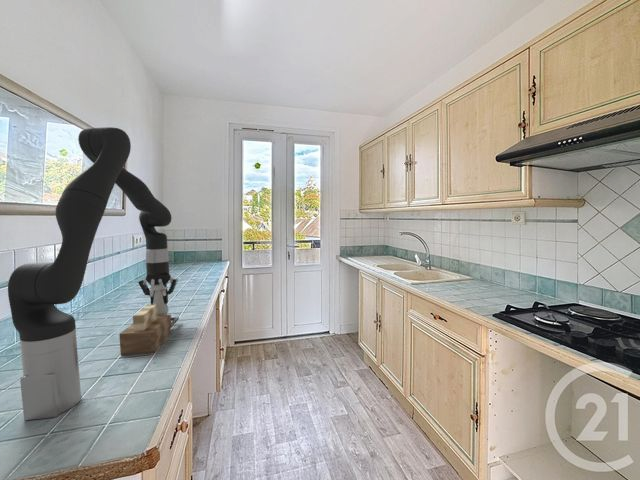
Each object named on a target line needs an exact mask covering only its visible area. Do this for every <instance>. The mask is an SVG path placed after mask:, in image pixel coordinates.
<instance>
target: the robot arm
mask: <svg viewBox="0 0 640 480" xmlns="http://www.w3.org/2000/svg"><path fill="white" fill-rule="evenodd" d="M77 141H78V145H79V148H80V149H81V151H82V153H83V154H84V155H85V156H86V157H87V158H88V159H89V160H90V161H91V163H92V164H91V165H90V166H89V167H88V168H87V169H85V170H84V171H83V172H81V173H80V174H78V175H77V176H75V178H74V179H72V180H71V181H70V182H68V184H67V185H66V186H65V188H64V189H63V191H62V193H61V196H60V198H59V200H58V202H57V205H56V207H55V218H56V221H57V226H58V228H59V230H60V231H59V232H60V233H61V237H62V240H61V241H62V242H61V246H60V248H59V251H58V253H57V256H56V257H55V260H54V261H53V262H32V263H31V262H30V263H25V264H22V265H20V266H18V267H17V268H15V269H14V270H13V271H12V273H11V274H10V277H9V279H8V285H7V296H8V302H9V308H10V313H11V314H10V315H11V318H12V324H13V327H14V328H15V330H16V331H17V332H18V334H19V341H20V357H21V365H22V375H23V376H21V377H20V379H19V380H20V393H21V401H22V402H21V403H22V411H23V420H24V421H30V420H39V419H47V418H56V417H58V416H59V415H61V414H62V413H64V412H66V411H68V410H70V409H72V408H73V407H74V406H76V405H77V404H79V402H80V401H81V399H82V391H81V390H82V389H81V378H80V367H79V356H78V355H79V354H78V353H79V351H78V344H77V343H78V341H77V329H76V327H77V325H76V318H75V316H73V315H71V314H68V312H67V313H66V312H63V311H62V310H60V309H59V308H57V306H56V305H63V304H67V303H70V302H71V301H72V300H73V299H75V298H76V296H77V295H78V293H79V292H80V290H81V287H82V284H83V282H84V277H85V274H86V269H87V265H88V262H89V258H90V253H91V250H92V246H93V243H94V240H95V236H96V234H97V232H98V228H99V226H100V223H101V221H102V219H103V217H104V213H105V211H106V209H107V206H108V202H109V198H110V196H111V194H112V192H113V189H114V187H115V185H116V186H117V187H118V188H119V189H120V190H121V191H122V192H123V193H124V195H126V197H127V198H128V200H129V201H130V203H131V204H132V205H133V207H135V208H136V210H138V211H140V212H139V215H138V220H139V224H140V227H141V229H142V231H143V234H144V237H145V249H146V251H145V252H146V253H145V266H146V267H145V268H146V277H145V279H141V280H139V281H138V285H139V286H140V289H141V290H142V293H143V294H144V295H145V296H149V297H150V305H153V300H154V293H155V291H154V285H158V284H159V285H160V287H161V291H162V294H163V296H162V297H163V300H164V305H165V304H167V305H168V303H169V295H172V294H173V293H174V291H175V289H176V286H177V284H178V282H179V281H178V280H179V279H178V278H174V277H172V275H171V274H170V257H169V250H168V236H167V234H166V233H163V232H159V231H157V230H156V227H159V228H160V227H161V228H162V227H167V226H169V225H170V224H171V222H172V219H173V218H172V214H171V212H170V210H169V209H168V208H167V206H165V205H164V204H163V203H162V202H161V201H160V200H158V198H156V197H155V196H154V195H153V193H152V192H151V190H150V188H149V187H148V185H146V183H145V182H143V180H141V178H140V177H138V176H136V175H135V174H133V173H131V172H129V171H128V170H127V169H126V168H124V166H125V165H126V164H127V163H126V162H127V161H128V159H129V156H130V153H131V151H132V149H131V148H132V147H131V146H132V145H131V144H132V143H131V139H130V137H129V134H127V132H126V131H124V130H123V129H120V128H119V127H109V126H108V127H87V128H84V129H81V131H80V132H79V134H78V137H77ZM168 283H169V284H170V286H169V289H168ZM148 285H150V287H149V286H148ZM164 286H165V287H164Z"/></svg>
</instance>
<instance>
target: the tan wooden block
mask: <svg viewBox="0 0 640 480" xmlns="http://www.w3.org/2000/svg"><path fill="white" fill-rule="evenodd" d="M169 319H170V330H171V329H172V328H173V327H174V326H175V324H177V322H178V321H179V319H180V316H173V317H172V314H167V315H158V309H157V304H154V305H151V304H148V305H146V306H145V307H143V308H141V310H139V311H138V312H136V313H135V314H133V315H132V323H131V324H130V325H129V326H127V328H125V329H123V330H122V331H121V332H119V335H118V336H119V338H120V337H126V336H140V335H153V334H155V333H156V332H157V331H158V330H159V329H160V328H161V327H162V326H163V325H164V324H165V323H166V322H167V321H168V320H169Z"/></svg>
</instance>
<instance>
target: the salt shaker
mask: <svg viewBox="0 0 640 480" xmlns="http://www.w3.org/2000/svg"><path fill="white" fill-rule="evenodd" d="M164 287H165V286H164ZM154 291H155V293H154V300H153V305H154V304H157V309H158V315H168V313H169V307H168V306H169V305H168V303H167V304H165V305H164V300H163V297H162V296H163V294H162V291H161V287H160V285H159V284H158V285H154Z"/></svg>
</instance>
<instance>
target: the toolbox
mask: <svg viewBox="0 0 640 480" xmlns="http://www.w3.org/2000/svg"><path fill="white" fill-rule="evenodd" d="M171 331H172V330H171V329H170V319H169V320H168V321H167V322H166V323H165V324H164V325H163V326H162V327H161V328H160V329H159V330H158V331H157V332H156V333H155V334H153V335H140V336H126V337H120V336H119V349H120V351H119V352H120V356H129V355H131V356H132V355H143V354H144V355H145V354H154V353H156V352H157V351H158V350H159V348H161V346H162V345H163V344H164V343H165V341H166V340H167V339H168V338H169V337H170V336H171Z"/></svg>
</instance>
